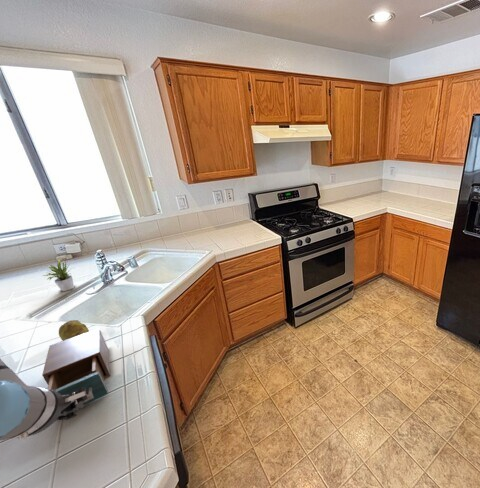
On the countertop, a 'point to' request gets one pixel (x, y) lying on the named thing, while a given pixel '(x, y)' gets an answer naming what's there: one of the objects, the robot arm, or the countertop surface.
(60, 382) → the drawer
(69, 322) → the potato
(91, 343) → the cabinet
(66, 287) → the house plant
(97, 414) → the countertop surface
